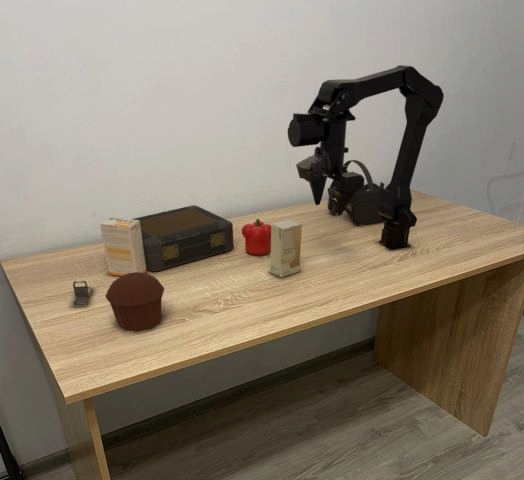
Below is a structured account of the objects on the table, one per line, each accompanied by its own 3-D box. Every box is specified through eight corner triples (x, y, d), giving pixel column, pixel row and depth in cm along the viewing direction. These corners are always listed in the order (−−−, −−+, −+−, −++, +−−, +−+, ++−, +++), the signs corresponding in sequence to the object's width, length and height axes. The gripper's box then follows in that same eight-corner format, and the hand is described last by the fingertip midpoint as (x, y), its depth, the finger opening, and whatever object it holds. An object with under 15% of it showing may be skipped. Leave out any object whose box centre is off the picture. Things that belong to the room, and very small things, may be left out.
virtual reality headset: (347, 233, 157) (355, 184, 147) (313, 201, 173) (318, 155, 164) (402, 225, 162) (412, 177, 153) (363, 195, 179) (371, 150, 170)
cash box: (196, 229, 156) (194, 203, 152) (236, 249, 142) (235, 222, 138) (117, 249, 143) (112, 221, 139) (151, 274, 130) (148, 244, 126)
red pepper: (259, 244, 146) (259, 212, 141) (277, 252, 141) (277, 219, 136) (239, 251, 142) (238, 218, 137) (256, 259, 137) (256, 226, 132)
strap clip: (78, 290, 123) (75, 273, 120) (92, 289, 123) (88, 272, 121) (73, 307, 116) (69, 290, 113) (87, 306, 116) (83, 288, 114)
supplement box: (147, 271, 131) (140, 219, 124) (137, 279, 127) (129, 226, 120) (118, 267, 134) (110, 216, 127) (108, 274, 130) (98, 222, 123)
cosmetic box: (281, 278, 127) (281, 229, 121) (269, 272, 130) (269, 224, 124) (301, 271, 131) (302, 223, 124) (289, 265, 134) (290, 218, 127)
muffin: (150, 302, 117) (144, 260, 112) (178, 321, 110) (173, 277, 105) (100, 320, 111) (92, 276, 105) (127, 341, 104) (119, 295, 98)
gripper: (281, 138, 125) (280, 204, 133) (326, 155, 111) (322, 227, 119) (320, 134, 129) (317, 198, 138) (369, 149, 115) (362, 219, 124)
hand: (328, 210), depth 129 cm, fingers open, 9 cm apart
